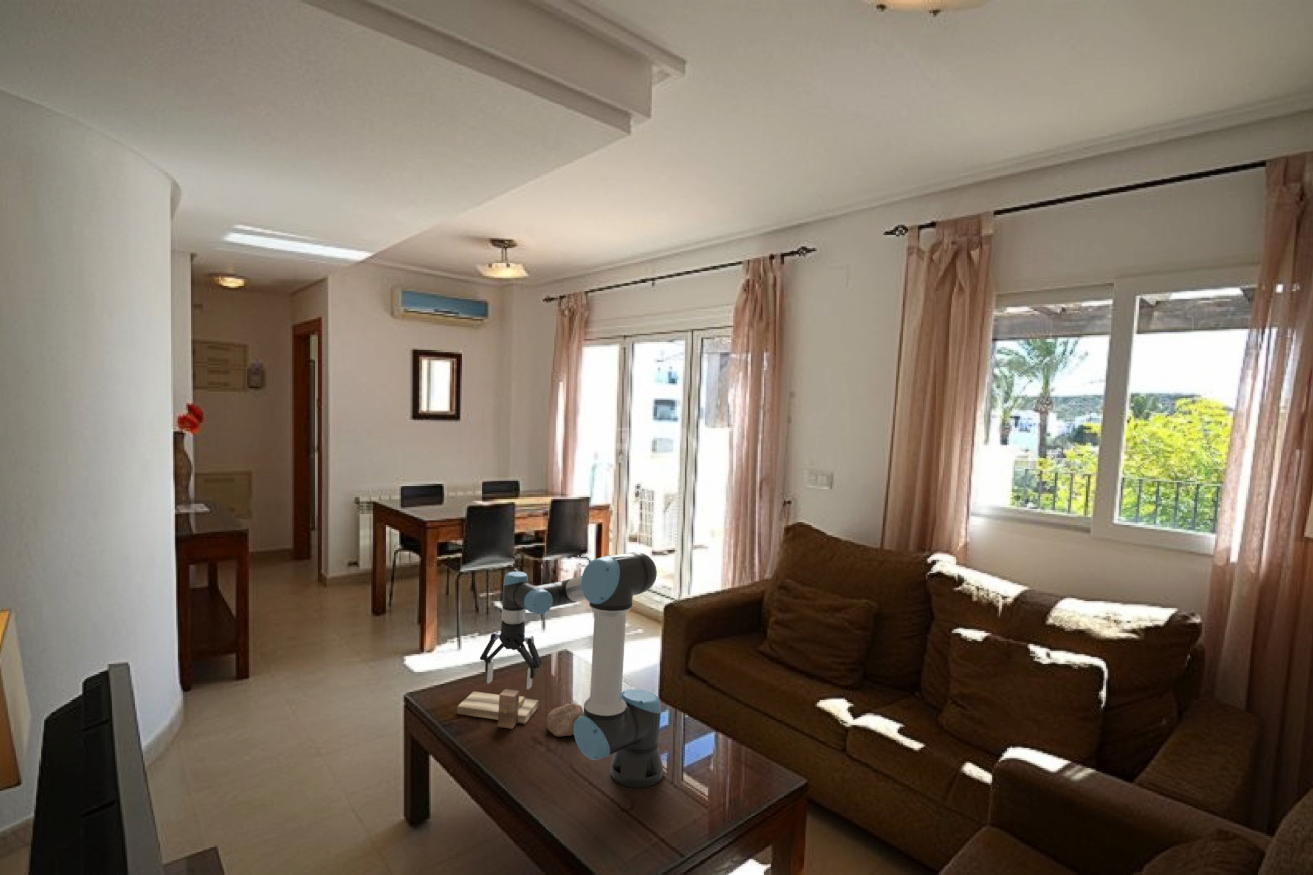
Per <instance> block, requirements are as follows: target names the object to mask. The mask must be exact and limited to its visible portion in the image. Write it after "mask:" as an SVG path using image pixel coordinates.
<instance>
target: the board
mask: <svg viewBox="0 0 1313 875" xmlns="http://www.w3.org/2000/svg"><path fill="white" fill-rule="evenodd" d="M499 695H500V694H496V693H489V692H488V693H487V692H481V691H475V690H474V691H472V692H471V693H470V694H469V695H467V697H466V698H465V699H464V700H462V701H461V702H460V703H459V704H458V705H457V709H456V714H457V715H462V716H463V715H464V716H468V717H469V716H471V717H478V718H485V719H491V720H497V721H498V712H499ZM538 708H539V700H538V699H531V698H525V701H524V702H523V704H522V705H521V706H520V707H519V708H518V723H517V724H524V725H525V724H526V723H527V722H528V721H529V719H530V718H531V717H532V716H533V715H534V713H535V712H536V710H537V709H538Z"/></svg>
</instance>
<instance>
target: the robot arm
mask: <svg viewBox="0 0 1313 875" xmlns="http://www.w3.org/2000/svg"><path fill="white" fill-rule="evenodd" d="M656 566H657V565H656V564H655V562H654V561H653V559H652V558H651V557H650V556H649V555H647V554H645V553H643V552H636V551H633V552H627V553H620V554H613V555H604V556H601V557H599V558H595V559H593V560H591V561H590V562H589V563H588V564H587V565H586V566H585V568H584V569H583V572H582V575H579V576H576V577H572V578H568V579H565V580H561V581H555V582H551V583H550V582H549V583H545V584H544V583H543V584H538V585H533V584H531V583H529V577H528V574H527V573H526V572H525V571H510V572H506V574H505V575H504V580H503V585H502V586H503V587H502V608H501V610H502V611H501V623H500V633H498V631H496V630H495V631H494V632H492V633H491V634H490V639H489V641H488V643H487V645H486V647H485V648H484V650H483V652H482V654H481V655H480V657H479V659H480V661H484V662H485V664H484V666H485V667H484V671H485V673H486V674H487V675H486V676H487V677H486V683H487V684H490V683H492V681H493V678H494V664H495V663H494V660H493V659H494V657H495V656H497V655H498V653H499V652H500V651H502V649H503V648H505V649H506V650H512V651H517V652H518V653H520V655H521V657H522V658H523V660H524V661H525V663H526V664H527V666H528V669H527V675H526V676H527V679H526V690H530V689H531V688H532V687H533V679H534V678H535V677H536V672H537V671H536V670H537V669H539V668H540V667H541V666H542V664H543V663H542V660H541V657H540V654H539V652H538V650H537V647H536V645H535V641H534V640H535V638H534V636H532V635H531V636H530V637H529V636H525V627H526V621H525V620H526V613H527V611H528V612H529V613H533V614H535V615H539V616H540V615H544V614H546V613H548V612H549V611H550V610H551V608H555V607H559V606H565V605H570V604H575V603H578V602H580V601H584V600H585V601H586V600H587V601H588V602H589V605H588V606H589V607H590V608H591V610H592V611H593V612H594V613H593V615H594V616H593V620H594V621H593V632H592V634H593V635H592V636H593V638H592V656H591V671H590V672H591V673H590V688H589V689H590V692H589V697H588V698H587V699H586V700H585V701H584V703H583V713H584V714H583V716H580V717H579V718H578V719H577V720H576V721H575V723H574V734H573V736H574V739H575V742H576V745H577V747H578V749H579V751H581V753H582V754H583V755H584V756H585V757H586V758H587V759H589V760H591V761H592V760H593V761H598V760H601V759H603V758H604V759H605V758H608V757H609V756H611V755H613V756H612V759H611V762H610V775H611V777H612V779H613V780H615V781H616V782H617V783H619V784H621V785H623V786H625V787H629V788H639V789H640V788H647V787H651V786H654V785H656V784H658V782H660V781H661V780H662V778H663V774H664V765H663V761H662V757H661V756H662V755H661V752H660V748H659V740H660V728H661V727H660V726H661V713H662V710H661V707H662V706H661V705H662V703H661V699H660V697H658V695H657V694H656V693H653V692H651V691H649V690H645V689H639V688H630V689H629V688H628V689H625V690H623V676H624V674H623V673H624V660H625V659H624V657H625V643H626V642H625V640H626V639H625V637H626V624H627V623H626V620H627V613H628V612H629V611H630V610H631V609H632V608H633V596H636V595H637V596H638V595H641V594H643V593H646V592H647V591H648V590H650V589H651V588H652V587H653V585H654V584H655V583H656V581H657V576H658V573H657V570H658V569H657V567H656ZM497 640H500V644H499V645H498V646H497V647H496V648H495V649H494V651H492V652H491V653H490V651H491V650H492V648H493V646H494V645H495V642H496V641H497ZM524 643H526V645H527V648H528V650H529V651H528V650H527V648H526V645H525V644H524ZM489 653H490V654H489Z"/></svg>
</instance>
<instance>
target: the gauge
mask: <svg viewBox="0 0 1313 875" xmlns="http://www.w3.org/2000/svg"><path fill="white" fill-rule="evenodd" d="M498 695H499V712H498V720H497V727H498V728H502V729H503V728H505V729H510V730H513V729H514V728H515V727H516V725H517V724H519V723H518V708H519V707H520V706H521V705H522V704H523V702H524V701H525V699H526V697H525V696H522V695H520V690H516V689H514V690H513V689H507V688H505V689H503V690H502V691H501V693H499V694H498Z"/></svg>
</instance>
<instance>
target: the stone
mask: <svg viewBox="0 0 1313 875" xmlns="http://www.w3.org/2000/svg"><path fill="white" fill-rule="evenodd" d="M583 714H584V708H583V706H581V705H577V704H576V703H575V702H573V703H567V702H566V703H565V704H563V705H562V706H558V707H555V708H554V709H552V710H550V712H549V713H548V714H547V718H546V728H547V730H548V731H549V732H550V733H551V734H552V735H553V736H555V737H567V736H569V737H572V735H573V736H574V723H575V721H576V720H577V719H578V718H579V717H580V716H583Z"/></svg>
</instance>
